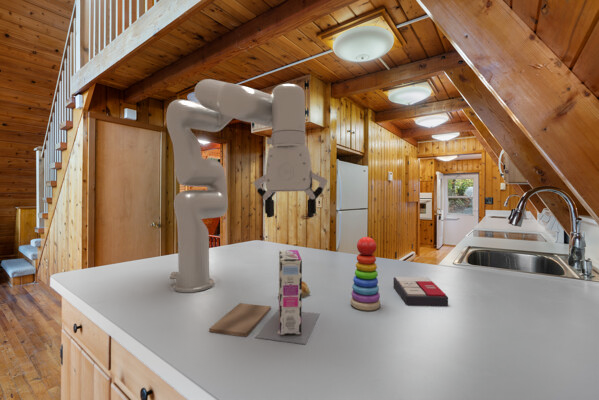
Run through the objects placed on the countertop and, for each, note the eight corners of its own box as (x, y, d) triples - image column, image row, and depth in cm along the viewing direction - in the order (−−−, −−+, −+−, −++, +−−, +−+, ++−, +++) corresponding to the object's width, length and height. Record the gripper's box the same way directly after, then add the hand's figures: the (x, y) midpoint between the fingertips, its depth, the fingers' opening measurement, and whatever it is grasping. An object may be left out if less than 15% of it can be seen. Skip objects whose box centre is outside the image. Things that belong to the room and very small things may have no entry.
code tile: (255, 338, 62) (255, 337, 62) (278, 310, 76) (278, 309, 76) (305, 344, 59) (305, 343, 59) (319, 314, 73) (319, 313, 73)
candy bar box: (303, 335, 62) (302, 259, 62) (279, 336, 62) (279, 260, 61) (298, 313, 73) (298, 249, 73) (278, 314, 73) (278, 249, 72)
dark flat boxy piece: (406, 293, 78) (393, 274, 93) (406, 309, 79) (393, 287, 94) (448, 294, 78) (428, 275, 93) (448, 310, 78) (428, 288, 93)
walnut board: (209, 331, 65) (209, 328, 64) (239, 306, 79) (239, 303, 79) (246, 336, 62) (246, 333, 62) (270, 309, 77) (270, 306, 77)
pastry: (287, 303, 81) (286, 290, 81) (273, 297, 86) (272, 284, 86) (311, 295, 87) (311, 283, 87) (297, 290, 92) (297, 278, 92)
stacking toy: (347, 309, 77) (347, 238, 76) (353, 298, 84) (353, 234, 83) (378, 313, 74) (378, 240, 73) (381, 302, 81) (382, 235, 81)
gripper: (247, 141, 65) (248, 218, 65) (323, 136, 60) (324, 218, 61) (260, 146, 72) (261, 215, 72) (329, 142, 68) (330, 215, 68)
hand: (290, 216), depth 67 cm, fingers open, 9 cm apart
